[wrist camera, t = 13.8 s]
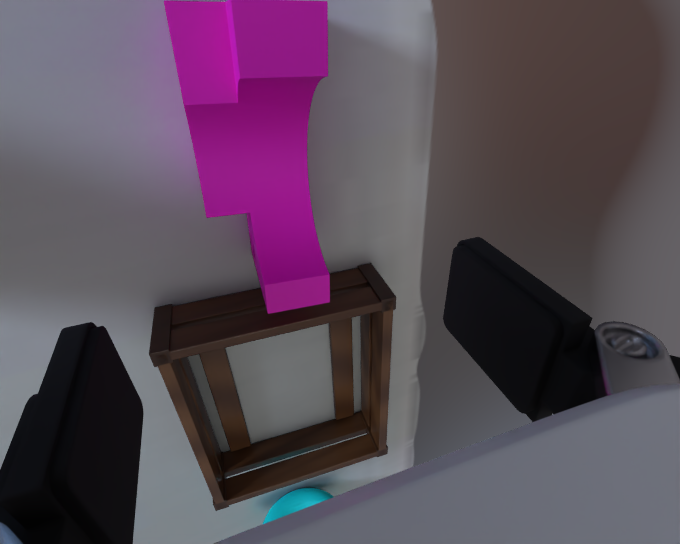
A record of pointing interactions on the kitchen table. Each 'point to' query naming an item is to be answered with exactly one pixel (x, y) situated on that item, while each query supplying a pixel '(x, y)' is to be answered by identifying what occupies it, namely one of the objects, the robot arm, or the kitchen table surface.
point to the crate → (210, 342)
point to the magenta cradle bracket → (257, 128)
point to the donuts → (296, 502)
